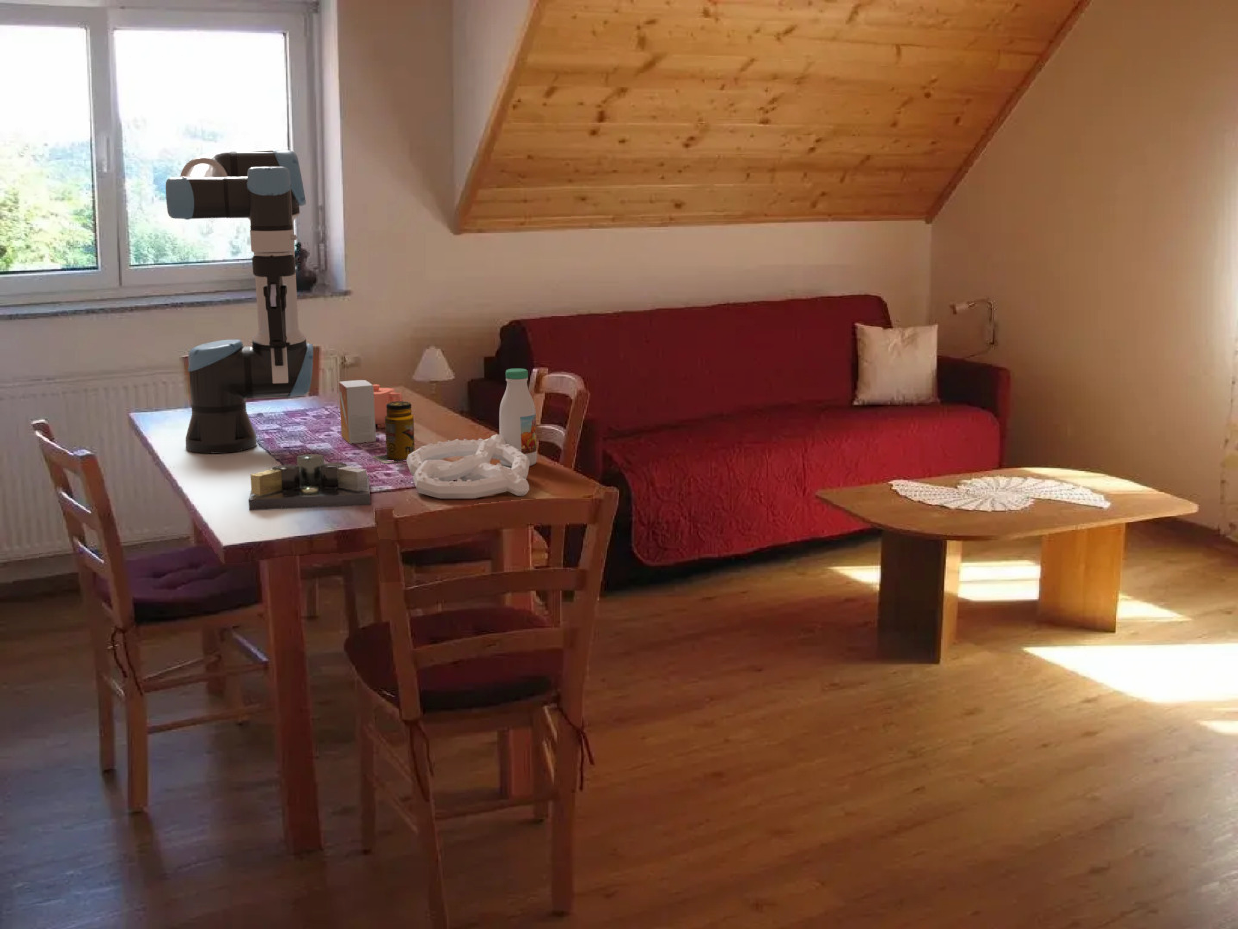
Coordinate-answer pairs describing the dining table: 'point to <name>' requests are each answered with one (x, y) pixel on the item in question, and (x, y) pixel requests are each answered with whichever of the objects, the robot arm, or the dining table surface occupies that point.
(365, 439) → the small box
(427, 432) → the dining table surface
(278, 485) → the brass lever knob
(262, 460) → the dining table surface
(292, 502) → the base plate
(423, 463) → the pretzel
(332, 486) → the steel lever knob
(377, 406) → the teapot
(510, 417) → the milk bottle
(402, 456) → the condiment
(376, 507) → the dining table surface
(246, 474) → the dining table surface
